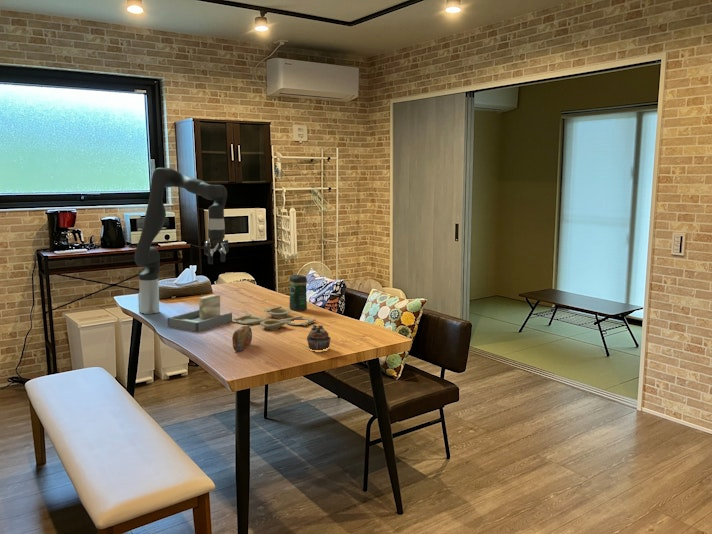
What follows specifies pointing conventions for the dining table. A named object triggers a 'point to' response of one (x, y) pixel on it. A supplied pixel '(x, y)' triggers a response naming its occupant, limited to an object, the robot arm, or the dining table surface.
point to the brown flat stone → (242, 338)
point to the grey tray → (197, 321)
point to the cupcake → (318, 338)
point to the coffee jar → (298, 292)
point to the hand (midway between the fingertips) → (216, 262)
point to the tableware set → (272, 324)
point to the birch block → (209, 306)
